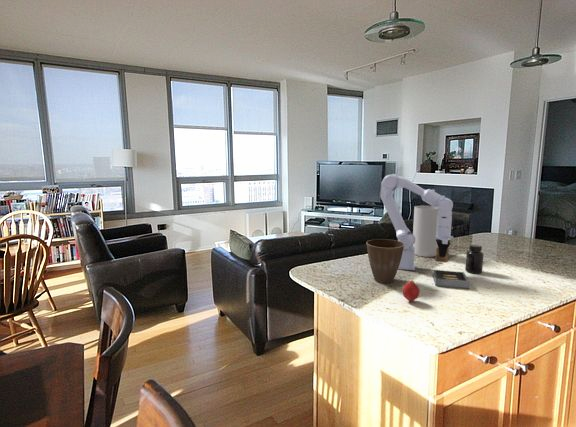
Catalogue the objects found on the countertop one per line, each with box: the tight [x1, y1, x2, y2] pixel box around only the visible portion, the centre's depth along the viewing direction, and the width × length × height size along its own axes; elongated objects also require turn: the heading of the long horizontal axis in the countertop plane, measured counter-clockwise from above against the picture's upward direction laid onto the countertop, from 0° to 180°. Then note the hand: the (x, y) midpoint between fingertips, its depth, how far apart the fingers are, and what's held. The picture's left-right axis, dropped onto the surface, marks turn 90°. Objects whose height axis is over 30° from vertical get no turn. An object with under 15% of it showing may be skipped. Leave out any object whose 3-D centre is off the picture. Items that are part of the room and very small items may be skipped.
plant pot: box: [366, 238, 404, 284], centre depth 147 cm, size 15×15×16 cm
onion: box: [401, 279, 421, 303], centre depth 126 cm, size 6×6×8 cm
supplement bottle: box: [464, 244, 485, 275], centre depth 158 cm, size 7×7×12 cm
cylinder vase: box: [412, 205, 439, 258], centre depth 186 cm, size 12×12×25 cm
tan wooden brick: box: [434, 247, 450, 263], centre depth 157 cm, size 5×2×6 cm, turn 73°
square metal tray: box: [432, 269, 470, 290], centre depth 145 cm, size 12×12×3 cm
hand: (441, 256), depth 157 cm, fingers closed on tan wooden brick, 1 cm apart
